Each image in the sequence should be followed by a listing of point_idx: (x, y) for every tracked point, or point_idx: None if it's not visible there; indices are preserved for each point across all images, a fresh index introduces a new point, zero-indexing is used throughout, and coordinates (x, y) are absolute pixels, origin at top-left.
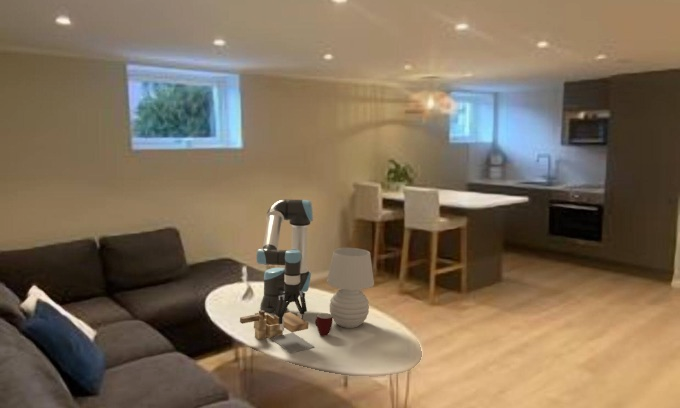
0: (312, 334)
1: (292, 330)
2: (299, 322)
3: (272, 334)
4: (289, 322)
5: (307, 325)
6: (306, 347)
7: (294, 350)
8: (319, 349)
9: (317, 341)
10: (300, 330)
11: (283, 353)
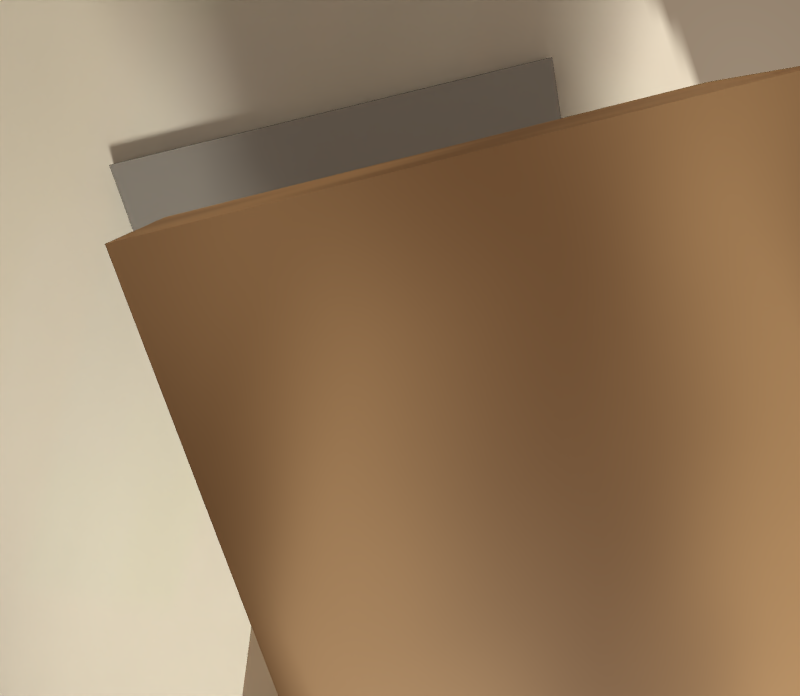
0: (36, 626)
1: (718, 81)
2: (445, 362)
3: None
4: (757, 440)
5: (167, 223)
6: (254, 171)
7: (476, 112)
8: (41, 56)
9: (8, 379)
10: (426, 153)
11: (648, 91)
